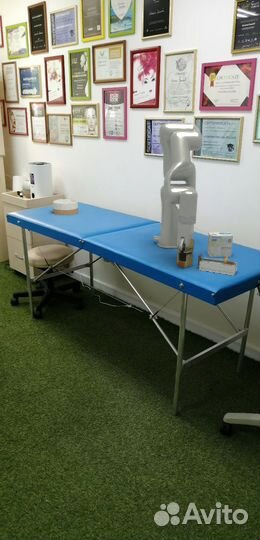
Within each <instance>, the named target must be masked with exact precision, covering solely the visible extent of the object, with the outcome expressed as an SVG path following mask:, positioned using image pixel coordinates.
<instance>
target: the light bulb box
mask: <svg viewBox="0 0 260 540" xmlns="http://www.w3.org/2000/svg"><path fill="white" fill-rule="evenodd" d="M233 238H234V235H233V234H232V233H231V232H230V231H228V232H227V231H226V232H225V231H224V232H222V231H221V232H219V231H217V232H215V231H214V232H208V236H207V251H206V252H207V253H206V254H207V255H208V256H209V257H208V258H225V257H226V256H228V258H230V257H232V249H233V240H234V239H233Z"/></svg>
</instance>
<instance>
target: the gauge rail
mask: <svg viewBox="0 0 260 540" xmlns="http://www.w3.org/2000/svg"><path fill="white" fill-rule="evenodd" d="M202 260H209V261H216V262H207V261H200V266H198V267H199V268H198V271H200V270H201V272H206V271H209V272H208V273H213V272H215V274H219V273H221V275H226V274H227V276H233V277H234V276H235V274H236V272H237V270H238V261H234V260H228V264H224V261H225V259H220V258H215V257H203V256H202ZM217 262H223V263H217Z"/></svg>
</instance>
